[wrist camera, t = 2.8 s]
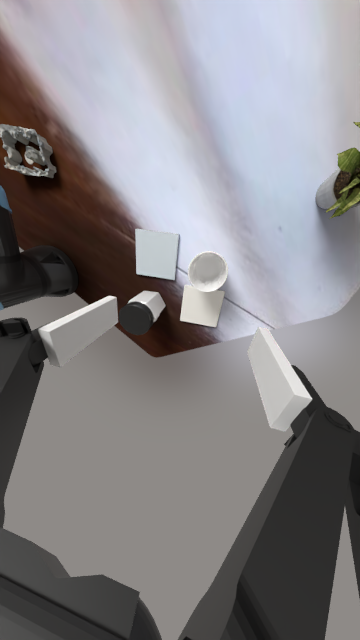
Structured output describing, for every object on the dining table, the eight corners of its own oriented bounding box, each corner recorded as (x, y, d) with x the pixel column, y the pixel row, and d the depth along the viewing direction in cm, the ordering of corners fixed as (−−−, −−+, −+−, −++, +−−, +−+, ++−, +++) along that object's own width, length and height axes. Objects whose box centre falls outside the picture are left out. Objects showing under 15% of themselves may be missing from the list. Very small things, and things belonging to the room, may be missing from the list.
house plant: (268, 226, 33) (311, 212, 18) (307, 136, 26) (421, 4, 12) (335, 242, 32) (437, 240, 17) (393, 152, 25) (631, 30, 11)
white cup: (199, 245, 37) (194, 245, 28) (229, 255, 37) (235, 258, 28) (189, 276, 41) (183, 285, 32) (217, 286, 40) (218, 297, 32)
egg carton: (22, 175, 38) (2, 168, 35) (12, 132, 35) (-12, 119, 31) (59, 182, 37) (43, 175, 34) (53, 139, 34) (33, 126, 30)
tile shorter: (180, 319, 47) (180, 320, 46) (185, 284, 42) (184, 285, 41) (215, 326, 46) (215, 327, 45) (224, 291, 41) (225, 291, 40)
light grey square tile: (137, 273, 43) (136, 273, 42) (136, 229, 38) (135, 228, 37) (174, 279, 42) (174, 279, 41) (179, 234, 37) (178, 233, 36)
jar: (156, 321, 49) (140, 342, 38) (135, 306, 48) (113, 324, 38) (170, 300, 45) (157, 317, 34) (147, 284, 44) (126, 296, 34)
